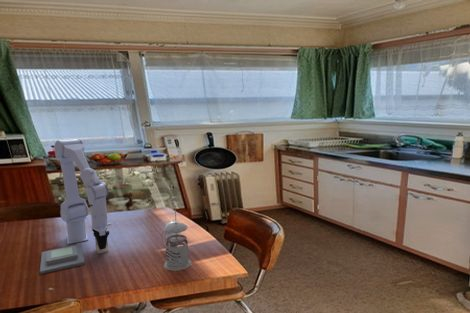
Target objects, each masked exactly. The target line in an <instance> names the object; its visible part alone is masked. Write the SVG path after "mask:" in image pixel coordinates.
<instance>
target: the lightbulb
mask: <svg viewBox="0 0 470 313" xmlns="http://www.w3.org/2000/svg"><path fill="white" fill-rule="evenodd" d="M172 223H180V222H179V221H177V220H176V221H175V220H170V221H168V222H167V223H166V225H165V227H166V226H168V225H169V224H172ZM165 232H166V231H165ZM167 233H168V234H167ZM180 233H181V232H179V233H177V235H181V234H180ZM166 235H167V236H168V237H169V236H172V235H176V233H169V232H166ZM176 244H178V243H176Z"/></svg>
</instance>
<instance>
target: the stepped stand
mask: <svg viewBox="0 0 470 313" xmlns="http://www.w3.org/2000/svg"><path fill="white" fill-rule="evenodd" d="M40 256H41V257H40V265H39V266H40V267H39V275H43V274H48V273H52V272H57V271H62V270H64V269H65V270H66V269H70V268H73V267H78V266H83V265H86V264H85V263H86V262H85V257H84V252H83V247H82V243H79V244H75V245H71V246H65V247H60V248H54V249H49V250H45V251H41V255H40Z"/></svg>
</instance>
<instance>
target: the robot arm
mask: <svg viewBox="0 0 470 313" xmlns="http://www.w3.org/2000/svg"><path fill="white" fill-rule="evenodd" d="M53 149H54V155H55V159H56V160H57V161H59V164H60V169H61V173H62V174H61V175H62V180H63V186H64V192H65V195H66V196H65V200H64V201H63V202H62V203H60V218H61V220H62V221H63V222H64V223H66V231H67V235H66V242H67V245H71V244H75V243H80V242H81V243H82V242H86V241H89V238H88V234H87V230H86V219H87V216H88V215H89V212H90V216H91V231H92V232H93V234H92V235H93V237H94V239H95V238H96V239H97V242H98V246H99V249H100V250H101V249H105V248H106V242H107V243H108V237H109V235H110V231H109V230H107V229H108V227H109V226H112V222H111V221H110V222H108V211H107V210H108V209H107V200H106V199H107V197H108V196H109V189H108V186H107V183H105V182H103V181H102V180H100V178H99V176H98V174H97V172H96V171H95V169H94V168H91V167H90V164H89V163H88V160H87V158H86V156H85V154H84V152H85V143H84V141H83V140H82V138H72V139H62V140H60V139H57V140H56V141H55V142H54V146H53ZM75 165H76V167H77V168H78V169H79V171H80V174H79V177H80V179H81V181H82V183H83V185H84V187H85V188H86V192H85V194H86V197H87V200H88V204H89V205H90V209H89V206H88V204H87V201H86V199H85V198H82V197H81V196H80V193H79V187H78V181H77V175H76V168H75Z"/></svg>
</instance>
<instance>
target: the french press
mask: <svg viewBox="0 0 470 313" xmlns="http://www.w3.org/2000/svg"><path fill="white" fill-rule="evenodd" d="M171 201H173V202H176V201H178V197H176V196H174V197H171ZM176 209H177V208H176V207H174V216H175V218H174V221H177V214H176ZM187 229H188V225H186V224H185V223H183V222H179V223H172V224H169V225H168V226H166V225H165V227H164V230H163V231H162V233H161V235H160V237H161V239H163V234H164V235H167V234H168V233H166V232H169V233H176V235H172V236H168V237H164V240H165V244H164V242H163V240H161V242H162V245H163V247H164V248H165V251H166V255H165V256H166V261H165V263H164V264H163V267H164V268H165V269H166V270H168V271H172V272H173V271H176V272H177V271H182V270H186V269H188V268H189V267H191V265H192V261H191V260H190V259H189V242H188V239H187V236H186V235H184V234H179V235H177V233H179V232H180V233H183V232H185V231H187ZM176 243H177V244H176Z"/></svg>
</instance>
